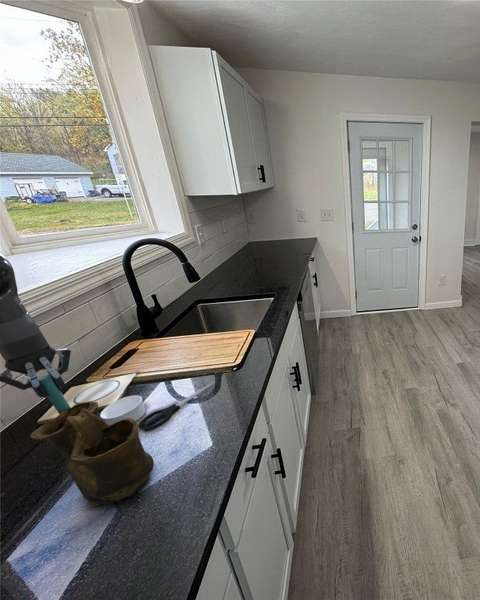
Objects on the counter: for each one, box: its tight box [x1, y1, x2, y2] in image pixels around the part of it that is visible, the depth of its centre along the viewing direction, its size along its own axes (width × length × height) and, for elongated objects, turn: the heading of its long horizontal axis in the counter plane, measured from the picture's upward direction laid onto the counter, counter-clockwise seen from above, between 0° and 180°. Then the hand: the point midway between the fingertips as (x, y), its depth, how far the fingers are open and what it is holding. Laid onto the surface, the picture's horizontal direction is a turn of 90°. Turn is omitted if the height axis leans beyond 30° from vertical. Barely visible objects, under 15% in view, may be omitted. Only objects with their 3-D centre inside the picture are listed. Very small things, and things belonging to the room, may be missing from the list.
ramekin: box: [99, 395, 146, 424], centre depth 85 cm, size 9×9×4 cm
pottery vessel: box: [30, 401, 155, 507], centre depth 63 cm, size 25×11×20 cm, turn 65°
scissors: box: [138, 381, 215, 432], centre depth 89 cm, size 7×1×20 cm
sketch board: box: [36, 372, 137, 425], centre depth 95 cm, size 18×16×1 cm
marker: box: [37, 374, 71, 414], centre depth 81 cm, size 2×2×11 cm
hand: (53, 392), depth 81 cm, fingers closed on marker, 2 cm apart
